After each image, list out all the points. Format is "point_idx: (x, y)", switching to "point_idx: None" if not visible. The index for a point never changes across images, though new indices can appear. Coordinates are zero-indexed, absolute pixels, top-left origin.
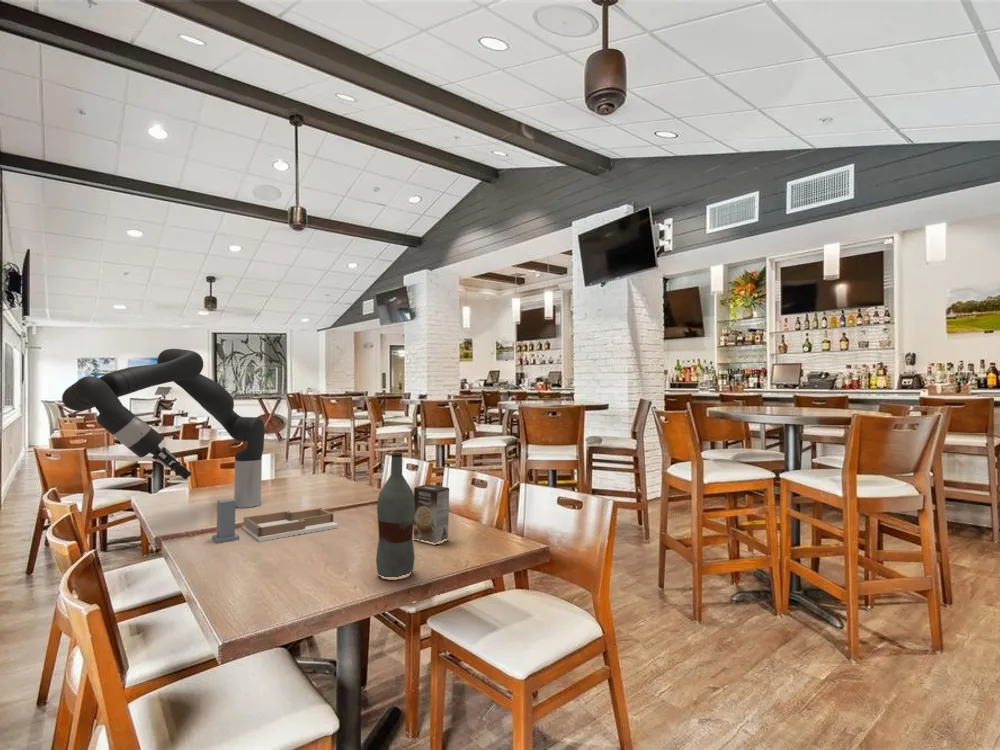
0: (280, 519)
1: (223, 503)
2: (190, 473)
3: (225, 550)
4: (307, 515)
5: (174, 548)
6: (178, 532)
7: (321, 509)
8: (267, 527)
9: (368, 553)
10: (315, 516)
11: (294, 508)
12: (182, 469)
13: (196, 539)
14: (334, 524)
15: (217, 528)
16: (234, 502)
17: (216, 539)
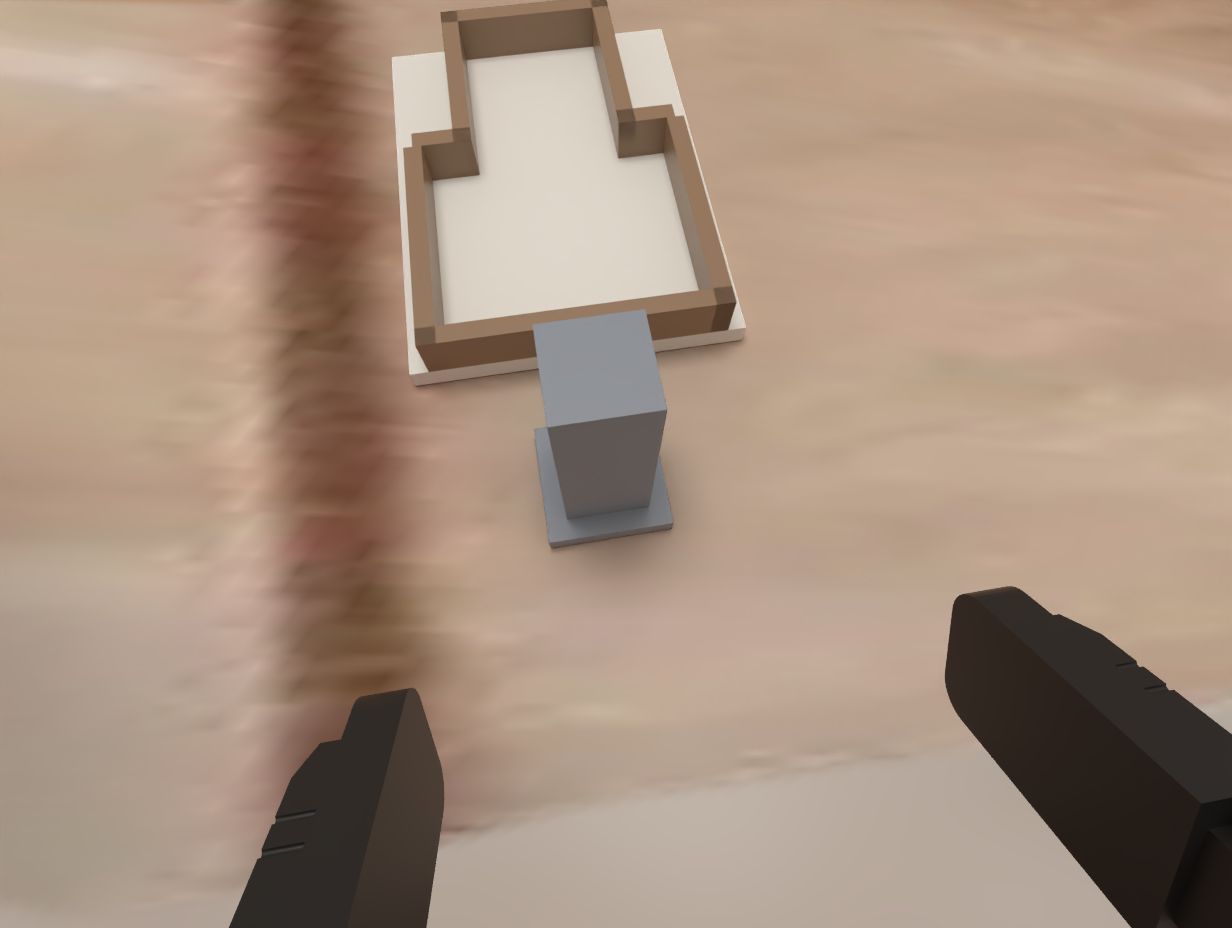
0: (434, 201)
1: (661, 393)
2: (1012, 597)
3: (830, 495)
4: (468, 90)
5: (665, 762)
6: (265, 742)
7: (473, 15)
8: (724, 264)
9: (1075, 39)
10: (611, 58)
11: (139, 123)
12: (1225, 752)
13: (519, 632)
14: (658, 39)
15: (582, 501)
16: (646, 322)
17: (656, 524)
